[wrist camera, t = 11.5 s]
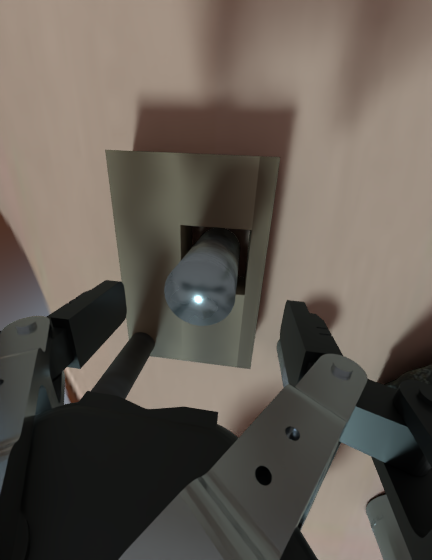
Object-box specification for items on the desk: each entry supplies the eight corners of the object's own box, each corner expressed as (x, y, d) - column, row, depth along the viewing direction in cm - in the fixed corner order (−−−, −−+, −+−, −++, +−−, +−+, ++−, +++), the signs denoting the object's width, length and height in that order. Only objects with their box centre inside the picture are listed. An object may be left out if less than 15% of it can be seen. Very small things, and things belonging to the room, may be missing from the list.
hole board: (273, 162, 18) (335, 114, 6) (249, 342, 26) (253, 502, 13) (131, 156, 20) (-87, 103, 7) (146, 330, 27) (54, 465, 14)
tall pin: (241, 228, 21) (238, 264, 12) (238, 269, 22) (232, 329, 13) (198, 225, 21) (162, 258, 12) (198, 266, 23) (165, 321, 14)
